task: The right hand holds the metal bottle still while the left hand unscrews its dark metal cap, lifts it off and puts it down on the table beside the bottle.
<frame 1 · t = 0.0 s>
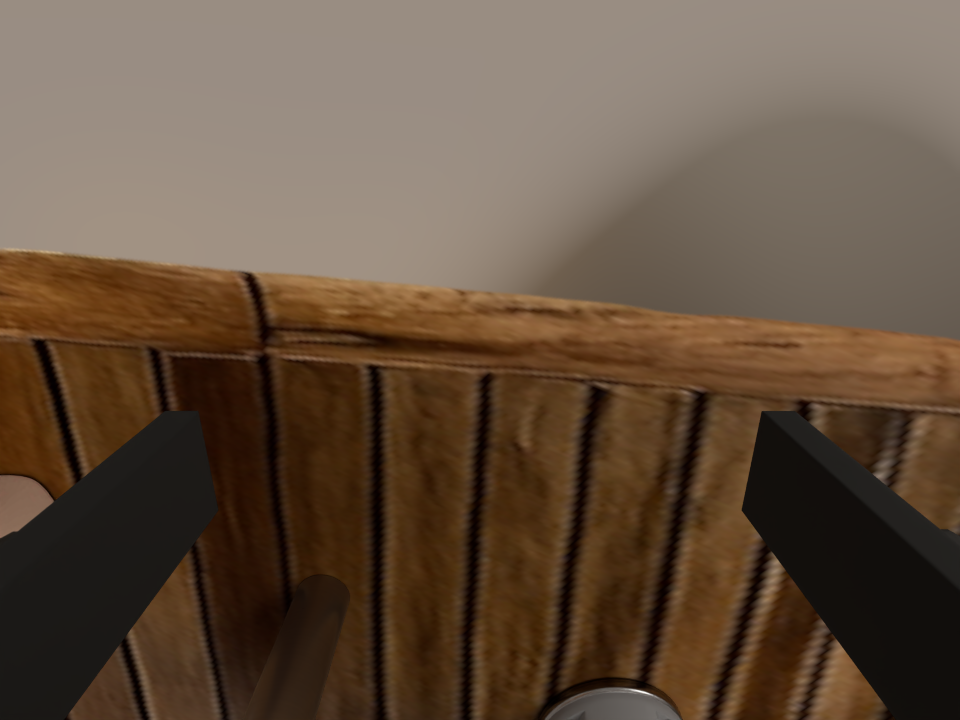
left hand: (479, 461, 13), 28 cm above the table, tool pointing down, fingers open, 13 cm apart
bottle: (323, 595, 50), on the table
anatomical model: (5, 532, 48), on the table
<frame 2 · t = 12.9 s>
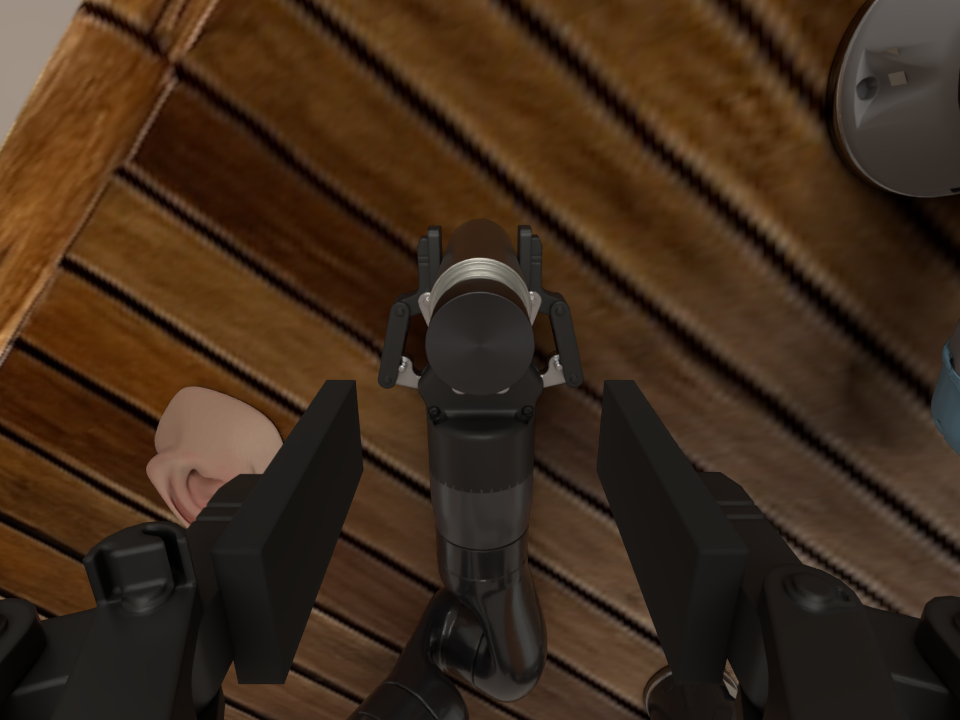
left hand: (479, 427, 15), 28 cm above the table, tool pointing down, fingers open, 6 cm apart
right hand: (479, 228, 33), fingers closed on bottle, 5 cm apart
bottle: (479, 252, 40), on the table, touching right hand
anatomical model: (225, 458, 47), on the table
cap: (480, 343, 21), point 21 cm above the table, screwed on, not yet turned
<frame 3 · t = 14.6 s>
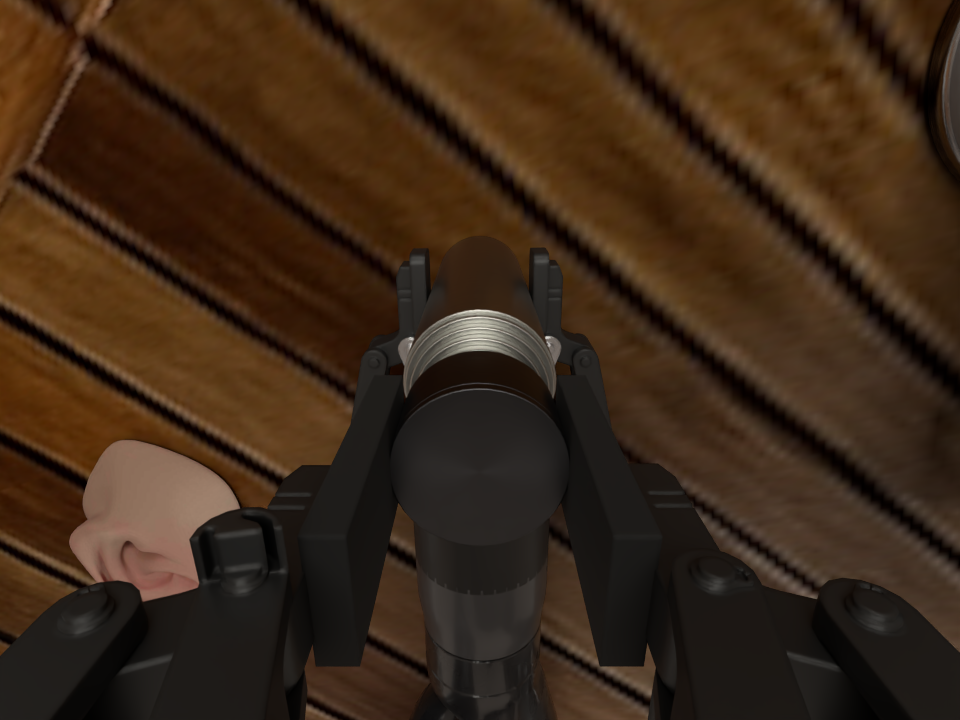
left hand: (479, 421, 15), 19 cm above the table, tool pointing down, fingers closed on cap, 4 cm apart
bottle: (479, 277, 32), on the table, touching right hand
anatomical model: (171, 523, 38), on the table
cap: (479, 465, 13), point 21 cm above the table, screwed on, not yet turned, touching left hand
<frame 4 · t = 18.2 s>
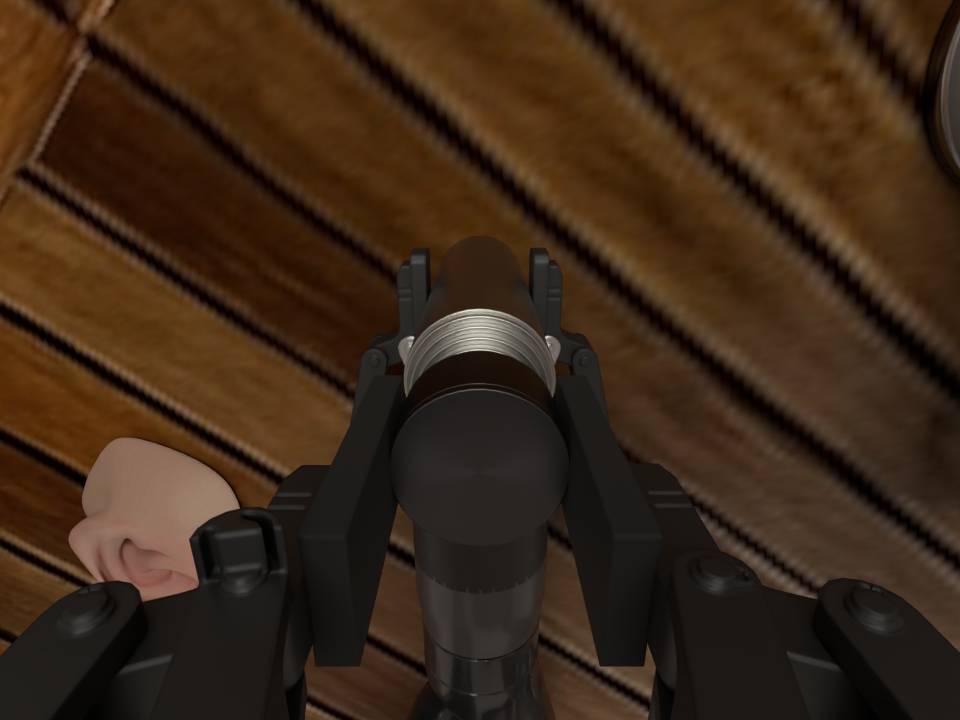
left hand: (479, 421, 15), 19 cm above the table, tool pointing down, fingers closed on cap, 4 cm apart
bottle: (479, 277, 32), on the table, touching right hand
anatomical model: (170, 521, 39), on the table
cap: (479, 465, 13), point 21 cm above the table, turned 109° so far, risen 0.1 cm, still on its thread, touching left hand
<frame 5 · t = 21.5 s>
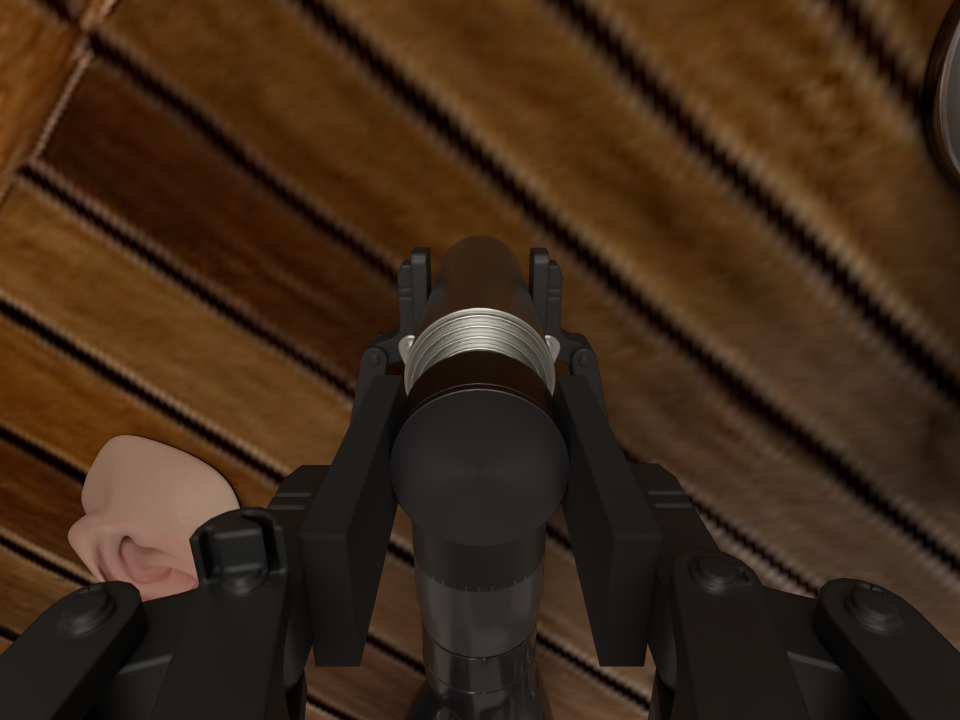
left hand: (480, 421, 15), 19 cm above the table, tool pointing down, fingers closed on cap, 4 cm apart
bottle: (479, 277, 32), on the table, touching right hand
anatomical model: (169, 519, 39), on the table
cap: (479, 465, 13), point 21 cm above the table, turned 218° so far, risen 0.2 cm, still on its thread, touching left hand
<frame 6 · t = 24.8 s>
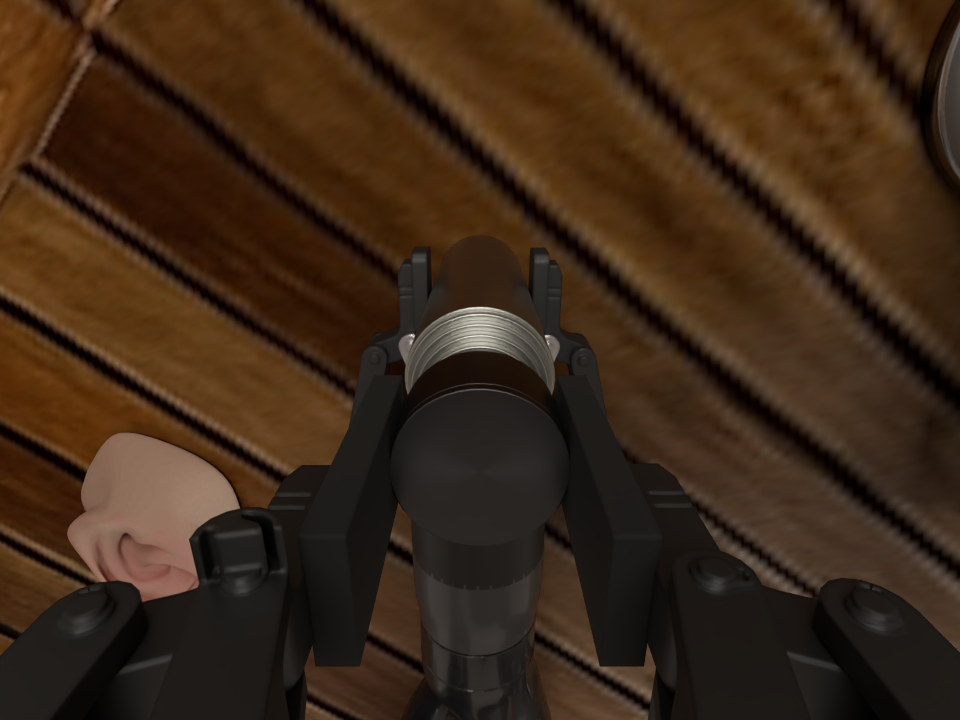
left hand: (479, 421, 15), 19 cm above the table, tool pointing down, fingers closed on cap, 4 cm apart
bottle: (480, 276, 33), on the table, touching right hand
anatomical model: (169, 516, 39), on the table
cap: (479, 465, 13), point 21 cm above the table, turned 327° so far, risen 0.3 cm, still on its thread, touching left hand
when the left hand's fingers open (1 cm above the table, at t = 32.1 s): cap drops 1 cm, point 2 cm above the table.
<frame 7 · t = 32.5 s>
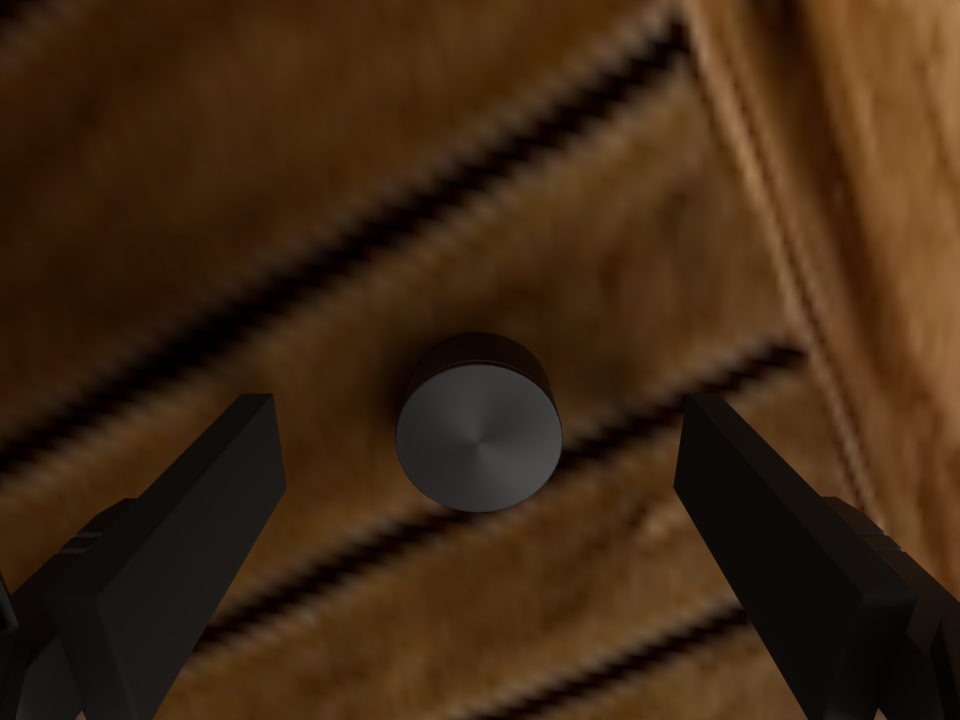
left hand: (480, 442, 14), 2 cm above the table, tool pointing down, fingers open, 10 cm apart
cap: (478, 436, 14), point 2 cm above the table, off its thread
when the right hand's fingers open (7 cm above the table, at t = 33.4 s): bottle stays where it is, on the table.
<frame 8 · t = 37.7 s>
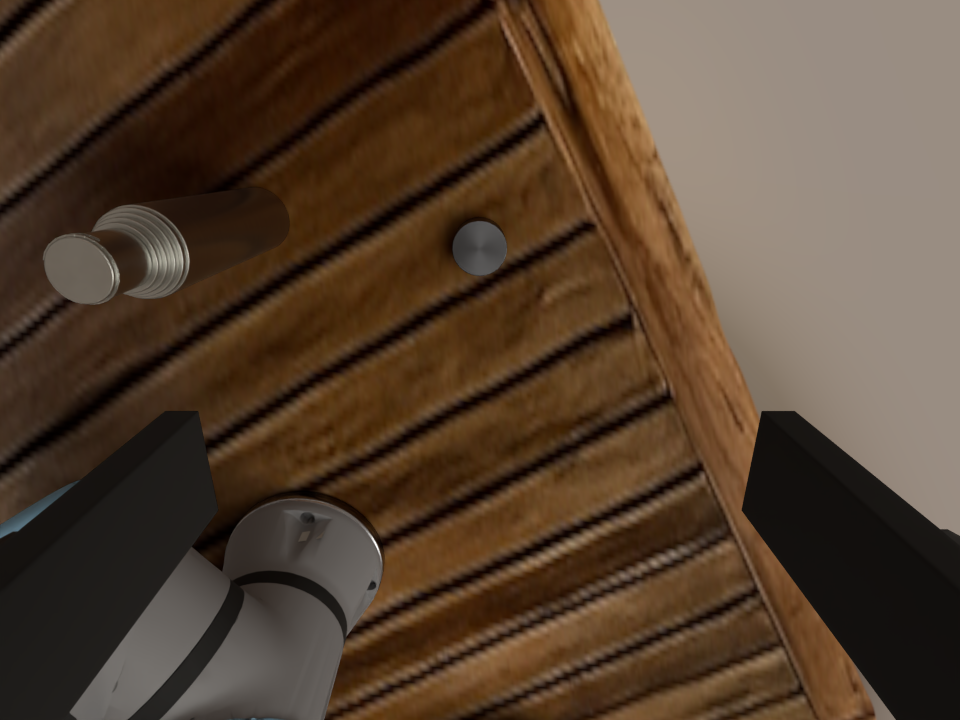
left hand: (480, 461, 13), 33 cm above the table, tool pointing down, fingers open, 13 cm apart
bottle: (258, 219, 43), on the table
cap: (479, 248, 42), point 2 cm above the table, off its thread
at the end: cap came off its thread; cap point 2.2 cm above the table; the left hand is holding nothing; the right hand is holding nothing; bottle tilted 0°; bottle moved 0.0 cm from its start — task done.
